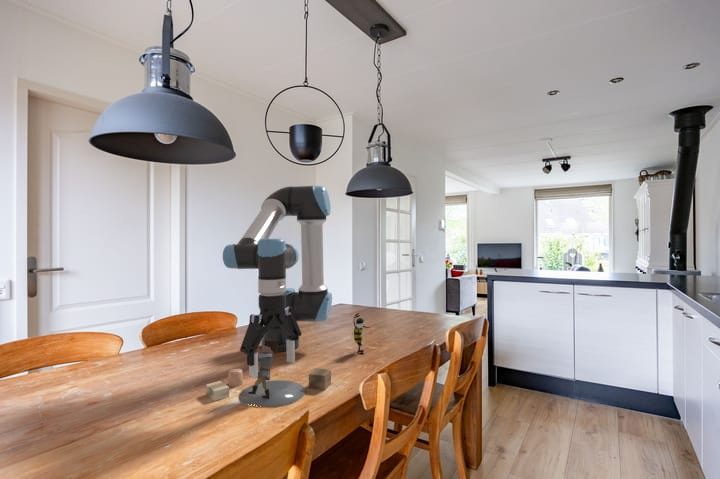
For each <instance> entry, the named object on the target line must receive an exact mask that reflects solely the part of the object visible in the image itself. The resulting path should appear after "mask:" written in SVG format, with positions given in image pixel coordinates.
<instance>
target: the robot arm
mask: <svg viewBox="0 0 720 479" xmlns="http://www.w3.org/2000/svg"><path fill="white" fill-rule="evenodd" d="M330 201H331V200H330V196H329V193H328V190H327V188H326V187H324V186H319V185H305V186H301V185H299V186H284V187H282V188H279V189H278V190H275V191H274V192H273V193H271V194H269V195H268V196H267V197H266V198H265V199H264V200H263V202H262V203H261V207H260V211H259V212H258V214H257V216H256V217H255V218H254V219H253V221H252V223H251V224H250V225H249V227H248V229H247V230H246V231H245V232H244V234H243V236H242V237H241V238H240V239H239V241H238V243H236V244H235V243H233V244H227V245H225V247H224V248H223V251H222V261H223V264H224V266H225V267H226V268H228V269H236V270H246V269H248V270H255V269H256V270H257V272H258V279H257V280H258V281H257V286H258V287H257V289H258V290H257V292H258V294H259V295H258V308H259V311H260V312H259V314H250V315H249V324H248V325H247V326H248V327H247V329H246V331H245V334H244V336H243V340H242V343H241V344H240V347H239V351H240V352H241V353H243V352H244V353H247V355H246V364H247V366H248V376H249V377H251V378H253V379H258V372H259V362H258V353H257V349H258V348H259V347H260V344H261V349H262V347H263V344H264V341H266V340H274V341H276V342H277V343H278V351H277V353H279V352H286V362H287V363H290V364H295V363H296V350H297V348H299V347H300V337H301V336H302V331H301V329H300V327H299V324H298V322H309V323H311V322H314V323H318V322H319V323H320V322H326V321H327V320H328V319H329V317H330V315H331V310H332V303H333V294H332V293H331V292H330V291H328V290H329V289H328V287H327V285H325V283H324V281H325V279H324V234H323V233H324V232H323V231H324V229H323V228H324V227H323V226H324V223H325V222H327V217H328V216H330V215H331V202H330ZM295 216H296V221H297V222H298V224H299V225H300V237H301V239H300V243H301V244H300V246H301V285H300V286H299V287H298V291H296V290H295V288H294V287H289V288H287V275H286V274H287V273H286V272H287V271H286V270H287V269H291V268H293V267H294V266H295V265H296V264H297V263H298V261H299V257H300V254H299V251H298V249H297V248H296V247H295V246H294V245H292V244H289V243H286V240H285V239H284V238H270V237H271V236H272V233H273V232H274V230H275V228H276V227H277V226H278V223H279V221H282V220H284V218H285V217H295ZM244 353H243V354H244Z"/></svg>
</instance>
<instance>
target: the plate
mask: <svg viewBox="0 0 720 479" xmlns="http://www.w3.org/2000/svg"><path fill="white" fill-rule="evenodd" d="M254 385H255V383H254V384H252V385H249V386H247V387H245V388H243V390H242V391H241V392H239V394H238V400H239V401H240V402H241V404H243V403H244V404H243V405H245V404H247V405H246V406H248V404H249V405H251V404H252V406H253V405H254V404H255V406H256V405H257V406H258V407H260V406H261V407H273V408H278V406H281V407H284V406H283V405H285V406H289V405H292V404H293V402H294V403H296V402H298V401H299V399H300V400H301V399H302V398H304V397H305V395H306V394H305V393H306V389H305V387H304V386H303V384H301V383H299V382H296V381H290V380H284V379H283V380H281V379H278V380H275V379H274V380H266V386H267V389H269V398H270V399H269V398H262V396H266V394H265V390H264V389H263V386H262V382H261V383H260V384H259V385H258V388H257V390H256V394H248V392H252V391H253V386H254ZM288 404H289V405H288ZM252 406H251V407H252ZM258 407H257V408H258Z"/></svg>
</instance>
